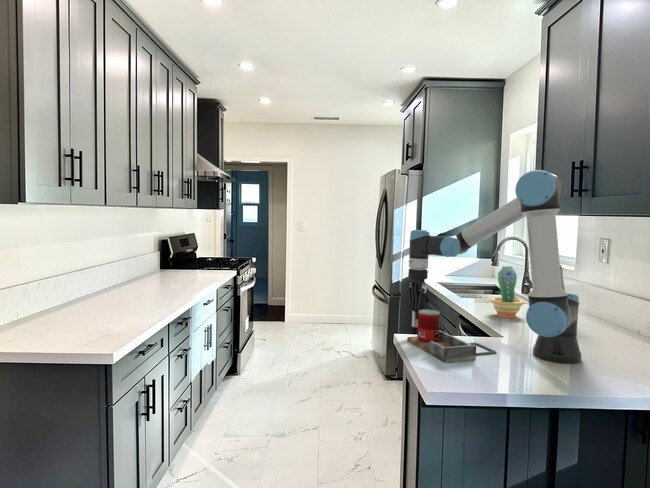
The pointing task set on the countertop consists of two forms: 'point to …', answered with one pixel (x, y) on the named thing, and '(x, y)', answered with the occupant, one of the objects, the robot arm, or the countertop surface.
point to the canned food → (428, 325)
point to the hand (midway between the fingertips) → (415, 326)
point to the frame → (484, 348)
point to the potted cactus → (507, 294)
